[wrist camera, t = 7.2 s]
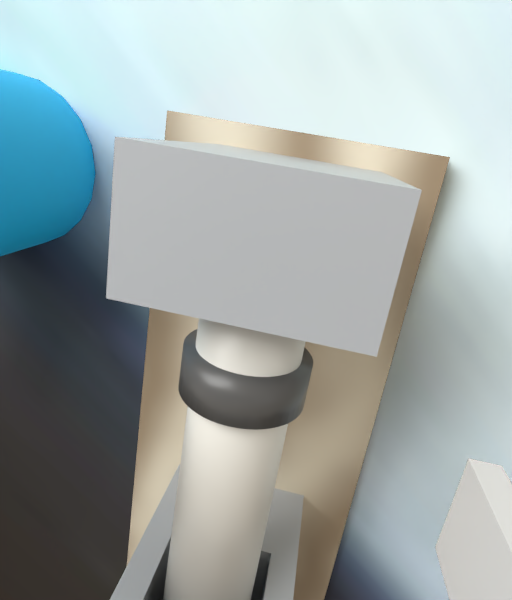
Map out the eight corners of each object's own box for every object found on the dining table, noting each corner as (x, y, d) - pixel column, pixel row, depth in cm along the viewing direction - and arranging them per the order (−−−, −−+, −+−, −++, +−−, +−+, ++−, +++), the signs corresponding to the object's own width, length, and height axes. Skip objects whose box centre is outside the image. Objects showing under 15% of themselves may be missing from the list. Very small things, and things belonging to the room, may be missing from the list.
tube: (262, 580, 21) (244, 682, 17) (172, 555, 22) (134, 649, 18) (346, 200, 16) (349, 217, 12) (222, 178, 16) (181, 187, 12)
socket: (359, 263, 21) (376, 356, 11) (208, 234, 21) (105, 298, 12) (381, 171, 19) (421, 190, 10) (219, 144, 20) (114, 136, 11)
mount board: (131, 570, 30) (125, 584, 29) (175, 112, 21) (167, 110, 20) (313, 622, 29) (313, 638, 28) (444, 157, 20) (449, 157, 19)
